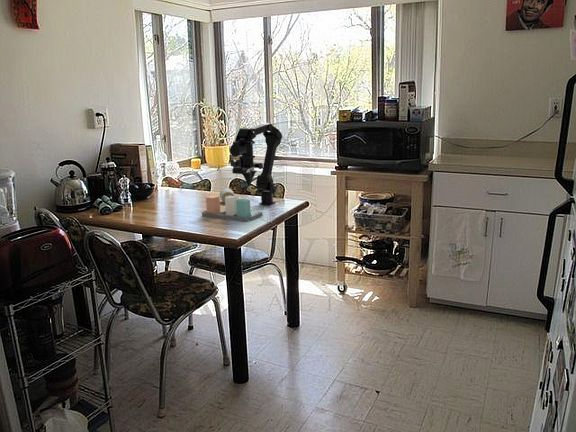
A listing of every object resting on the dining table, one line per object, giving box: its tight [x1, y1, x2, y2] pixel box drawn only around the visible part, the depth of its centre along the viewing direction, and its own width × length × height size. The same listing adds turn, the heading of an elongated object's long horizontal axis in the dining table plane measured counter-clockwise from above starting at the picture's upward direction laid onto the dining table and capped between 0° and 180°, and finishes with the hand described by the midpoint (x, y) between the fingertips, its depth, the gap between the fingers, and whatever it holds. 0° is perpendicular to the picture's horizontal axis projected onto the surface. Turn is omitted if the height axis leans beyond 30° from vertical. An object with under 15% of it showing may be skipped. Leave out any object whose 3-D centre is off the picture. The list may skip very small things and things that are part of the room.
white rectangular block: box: [224, 195, 240, 216], centre depth 238 cm, size 4×5×9 cm
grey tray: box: [201, 209, 264, 223], centre depth 239 cm, size 14×30×3 cm, turn 59°
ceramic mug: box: [219, 187, 240, 204], centre depth 268 cm, size 11×8×8 cm
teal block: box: [236, 198, 252, 220], centre depth 231 cm, size 4×5×9 cm
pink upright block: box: [205, 195, 221, 214], centre depth 240 cm, size 4×5×9 cm
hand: (248, 185), depth 248 cm, fingers closed
